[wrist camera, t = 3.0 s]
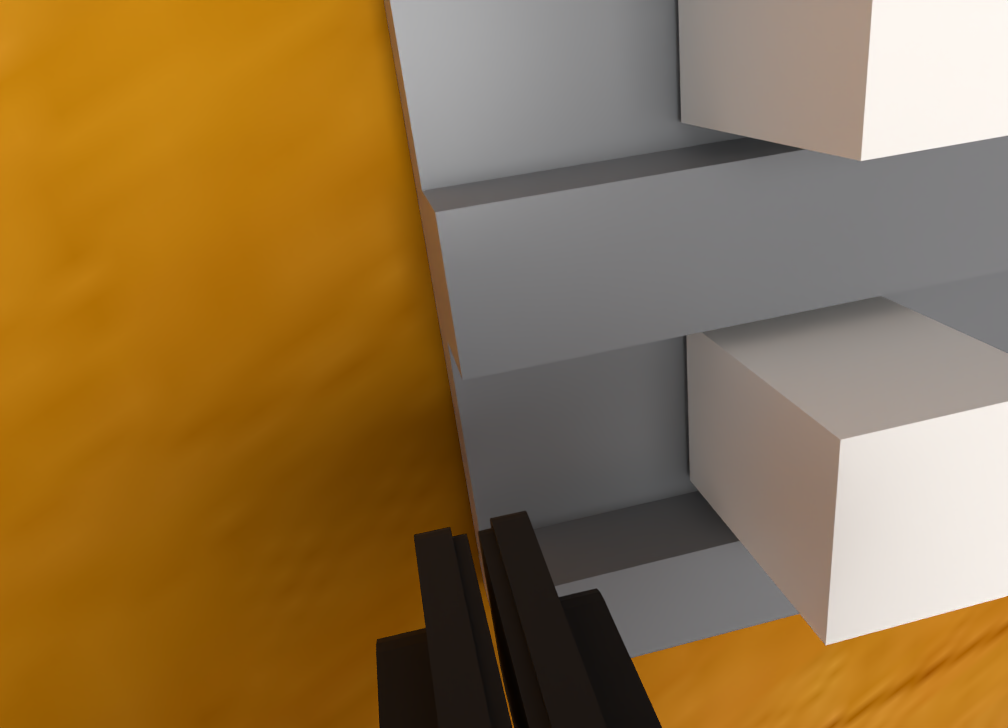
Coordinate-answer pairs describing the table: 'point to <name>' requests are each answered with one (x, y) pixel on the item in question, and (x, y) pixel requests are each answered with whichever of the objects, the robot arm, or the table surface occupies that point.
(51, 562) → the table surface
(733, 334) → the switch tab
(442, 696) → the robot arm
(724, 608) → the switch panel
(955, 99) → the switch tab middle
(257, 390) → the table surface
